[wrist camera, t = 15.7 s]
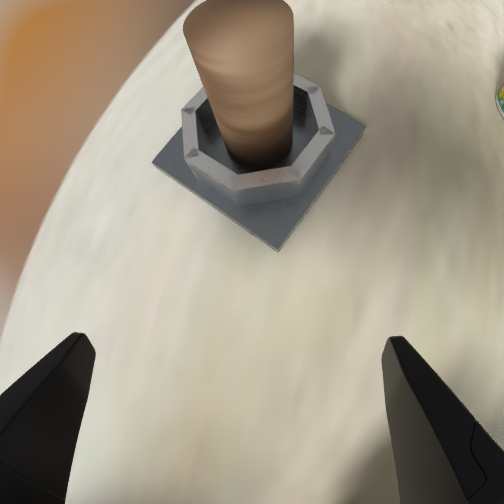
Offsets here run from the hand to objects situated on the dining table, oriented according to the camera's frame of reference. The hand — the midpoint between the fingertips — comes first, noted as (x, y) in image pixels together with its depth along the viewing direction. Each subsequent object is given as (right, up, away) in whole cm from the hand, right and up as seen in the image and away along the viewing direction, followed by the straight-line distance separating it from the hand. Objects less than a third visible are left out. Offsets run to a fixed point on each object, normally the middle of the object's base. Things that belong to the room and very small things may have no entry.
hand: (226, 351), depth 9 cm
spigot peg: (+1, +11, +15) cm, 18 cm away
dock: (+1, +11, +16) cm, 19 cm away
